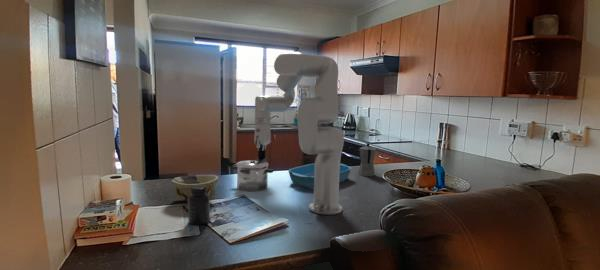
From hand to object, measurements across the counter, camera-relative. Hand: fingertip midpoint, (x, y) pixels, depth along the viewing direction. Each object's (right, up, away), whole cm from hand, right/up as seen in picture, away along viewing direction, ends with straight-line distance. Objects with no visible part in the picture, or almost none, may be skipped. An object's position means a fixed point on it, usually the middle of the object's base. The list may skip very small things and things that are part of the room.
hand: (261, 158), depth 161 cm
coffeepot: (+56, -11, +22) cm, 62 cm away
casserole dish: (+29, -13, +5) cm, 32 cm away
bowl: (-23, -15, -31) cm, 41 cm away
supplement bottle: (-15, -18, -52) cm, 57 cm away
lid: (-2, -2, -7) cm, 8 cm away
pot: (-3, -13, -9) cm, 16 cm away
